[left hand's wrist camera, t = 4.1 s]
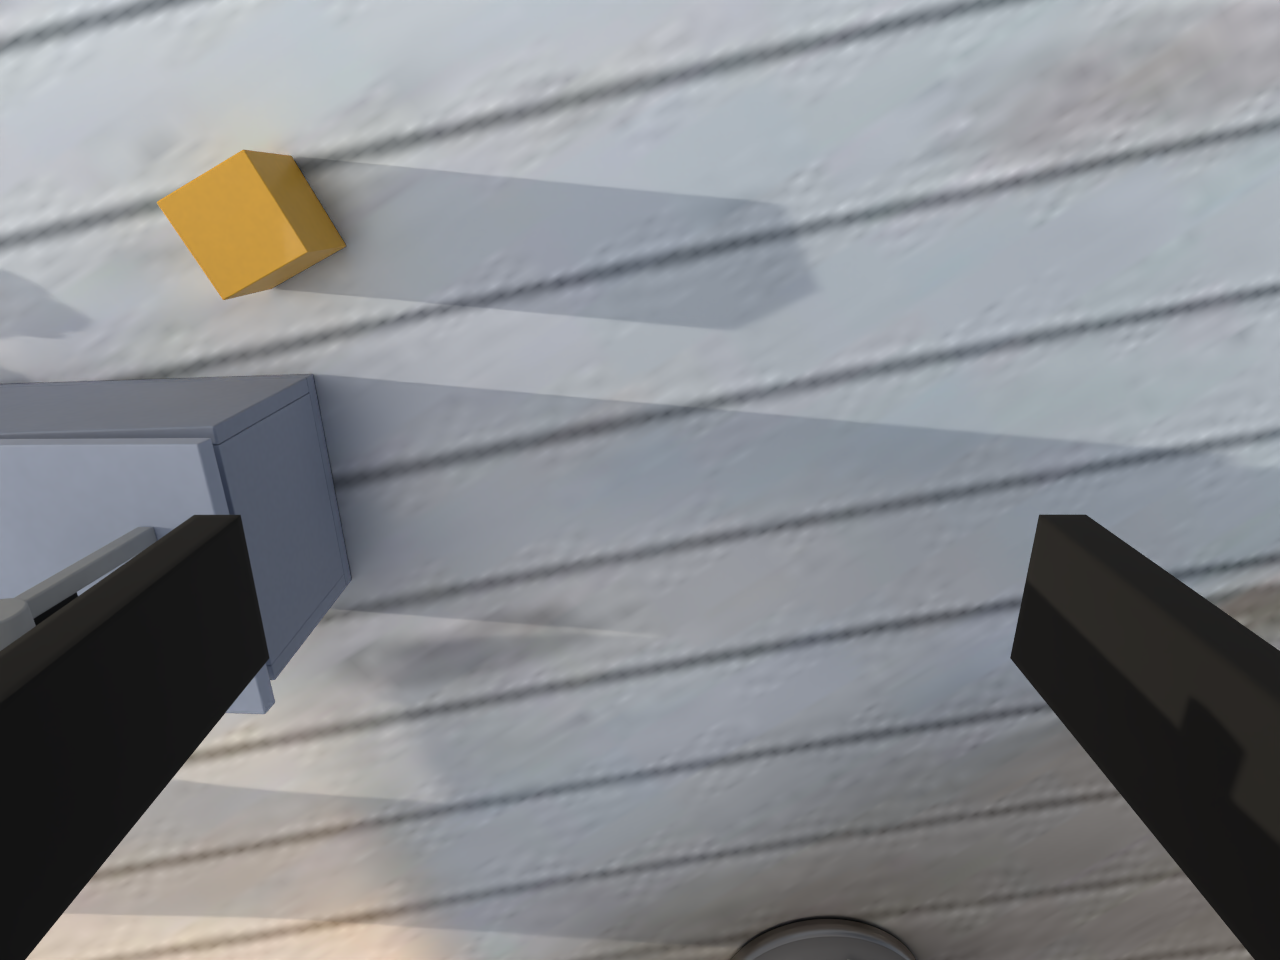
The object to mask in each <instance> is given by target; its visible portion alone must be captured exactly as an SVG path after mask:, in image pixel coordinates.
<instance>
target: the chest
mask: <svg viewBox="0 0 1280 960" xmlns="http://www.w3.org/2000/svg"><path fill="white" fill-rule="evenodd" d="M111 438H211V440H212V445H213V449H214V453H215V457H216V461H217V465H218V469H219V473H220V477H221V482H222V486H223V490H224V494H225V498H226V502H227V506H228V510H229V515H241V519H242V524H243V529H244V534H245V539H246V544H247V548H248V553H249V558H250V563H251V568H252V573H253V578H254V583H255V588H256V593H257V598H258V603H259V608H260V613H261V618H262V623H263V628H264V633H265V638H266V643H267V648H268V653H269V659H268V661H267V662H266V667H267V671H268V675H269V679H270V680H275V679H276V678H277V676H278V675H279V674H280V673H281V671H282V670H283V669H284V667H285V666H286V665H287V663H288V662H289V661H290V659H291V658H292V657H293V656H294V654H295V653H296V652H297V650H298V649H299V648H300V646H301V645H302V644H303V642H304V641H305V640H306V639H307V637H308V636H309V635H310V633H311V632H312V631H313V629H314V628H315V627H316V625H317V624H318V623H319V622H320V620H321V619H322V618H323V616H324V615H325V614H326V612H327V611H328V610H329V608H330V607H331V606H332V605H333V603H334V602H335V601H336V599H337V598H338V597H339V595H340V594H341V593H342V592H343V590H344V589H345V588H346V586H347V585H348V584H349V582H350V581H351V575H350V570H349V564H348V559H347V554H346V548H345V543H344V538H343V532H342V527H341V522H340V516H339V511H338V506H337V500H336V495H335V490H334V484H333V479H332V474H331V468H330V463H329V458H328V452H327V447H326V442H325V436H324V431H323V426H322V420H321V415H320V410H319V404H318V399H317V394H316V388H315V383H314V378H313V374H299V375H268V376H237V377H207V378H176V379H145V380H114V381H83V382H53V383H22V384H0V439H111Z"/></svg>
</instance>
